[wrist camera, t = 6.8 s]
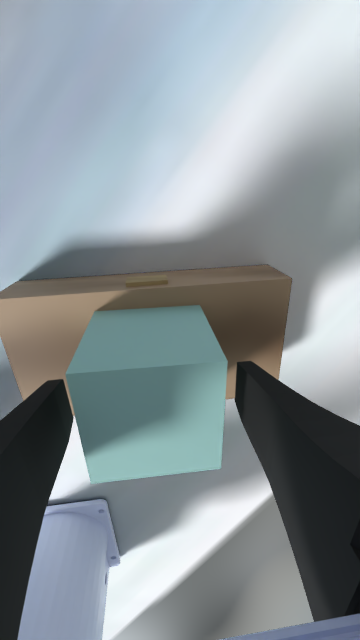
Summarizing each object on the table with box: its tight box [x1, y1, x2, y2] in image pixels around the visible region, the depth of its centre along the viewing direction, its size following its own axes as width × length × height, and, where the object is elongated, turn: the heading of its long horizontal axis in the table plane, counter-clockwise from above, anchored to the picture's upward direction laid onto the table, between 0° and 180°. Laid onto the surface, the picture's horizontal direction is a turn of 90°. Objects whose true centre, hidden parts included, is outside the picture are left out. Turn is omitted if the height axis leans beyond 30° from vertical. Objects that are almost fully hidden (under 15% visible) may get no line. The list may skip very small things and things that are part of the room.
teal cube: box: [65, 305, 228, 484], centre depth 12 cm, size 5×5×5 cm
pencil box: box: [0, 265, 292, 416], centre depth 15 cm, size 7×14×3 cm, turn 92°
